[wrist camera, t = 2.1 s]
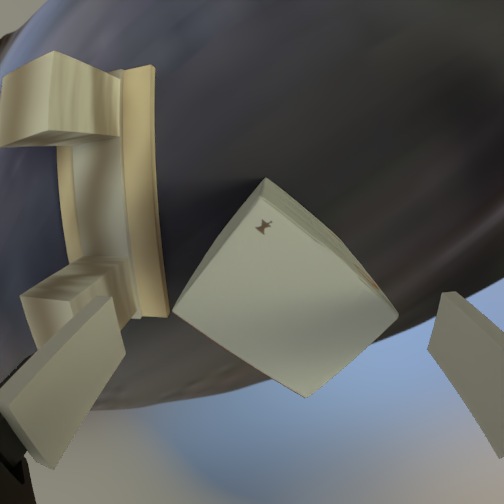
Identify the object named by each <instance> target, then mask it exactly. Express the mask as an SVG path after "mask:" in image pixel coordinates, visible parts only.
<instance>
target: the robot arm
mask: <svg viewBox="0 0 504 504" xmlns="http://www.w3.org/2000/svg"><path fill="white" fill-rule="evenodd" d="M427 350H428V351H429V352H430V354H431V355H432V357H433V358H434V359H435V361H436V362H437V364H438V365H439V366H440V368H441V369H442V371H443V372H444V373H445V375H446V376H447V378H448V379H449V381H450V382H451V383H452V385H453V386H454V388H455V389H456V391H457V392H458V394H459V395H460V397H461V398H462V400H463V401H464V403H465V404H466V406H467V407H468V409H469V410H470V412H471V413H472V415H473V417H474V418H475V420H476V421H477V423H478V424H479V426H480V428H481V429H482V431H483V432H484V434H485V436H486V437H487V439H488V441H489V442H490V444H491V446H492V447H493V449H494V451H495V453H496V454H497V456H498V458H499V459H500V458H502V457H504V332H503V331H502V330H500V329H499V328H498V327H497V326H496V325H495V324H494V323H493V322H491V321H490V320H489V319H488V318H487V317H486V316H485V315H483V314H482V313H481V312H480V311H478V310H477V309H476V308H475V307H474V306H473V305H472V304H470V303H469V302H468V301H467V300H466V299H464V298H463V297H462V296H461V295H459V294H458V293H457V292H456V291H455V292H443V293H442V294H441V299H440V303H439V307H438V312H437V316H436V320H435V324H434V328H433V331H432V335H431V339H430V342H429V345H428V349H427ZM125 355H126V352H125V348H124V344H123V341H122V337H121V333H120V329H119V325H118V321H117V316H116V312H115V308H114V303H113V298H112V297H107V296H96V297H95V298H94V299H93V300H91V301H90V302H89V303H88V304H87V305H86V306H85V307H84V308H82V309H81V310H80V311H79V312H78V313H77V314H76V315H75V316H74V317H73V318H71V319H70V320H69V321H68V322H67V323H66V324H65V325H64V326H63V327H62V328H61V329H60V330H59V331H57V332H56V333H55V334H54V335H53V336H52V337H51V338H50V339H49V340H48V341H47V342H46V343H45V344H44V345H43V346H42V347H41V348H40V349H39V350H38V351H37V352H36V353H34V354H32V355H31V356H29V357H27V358H25V359H24V360H23V361H22V362H21V363H20V364H19V365H18V366H17V369H14V370H13V371H12V372H11V373H10V376H9V375H8V376H7V377H6V379H5V380H4V381H3V382H2V383H1V384H0V504H36V501H35V497H34V493H33V488H32V483H31V478H30V473H29V467H28V463H27V460H26V458H25V457H24V454H25V453H26V451H28V452H29V453H30V455H31V456H32V457H33V459H34V460H35V461H36V462H38V463H40V464H42V465H44V466H46V467H48V468H50V469H52V470H54V469H55V467H56V465H57V464H58V462H59V460H60V458H61V457H62V455H63V453H64V452H65V450H66V448H67V447H68V445H69V443H70V442H71V440H72V438H73V436H74V435H75V433H76V432H77V430H78V428H79V427H80V425H81V423H82V422H83V420H84V419H85V417H86V415H87V414H88V412H89V411H90V409H91V407H92V406H93V404H94V403H95V401H96V399H97V398H98V396H99V395H100V393H101V392H102V390H103V388H104V387H105V385H106V384H107V382H108V381H109V379H110V378H111V376H112V375H113V373H114V372H115V370H116V368H117V367H118V365H119V364H120V362H121V361H122V359H123V358H124V356H125Z"/></svg>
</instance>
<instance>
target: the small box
mask: <svg viewBox="0 0 504 504" xmlns="http://www.w3.org/2000/svg"><path fill="white" fill-rule="evenodd" d="M172 312H173V313H174V314H175V315H177V316H178V317H180V318H181V319H182V320H184V321H185V322H187V323H188V324H189V325H191V326H192V327H194V328H195V329H196V330H198V331H199V332H201V333H202V334H204V335H205V336H207V337H208V338H209V339H211V340H212V341H214V342H215V343H217V344H218V345H220V346H221V347H223V348H224V349H226V350H227V351H229V352H230V353H232V354H234V355H235V356H237V357H238V358H240V359H241V360H243V361H244V362H246V363H247V364H249V365H251V366H252V367H254V368H255V369H257V370H259V371H260V372H262V373H263V374H265V375H267V376H268V377H270V378H272V379H273V380H275V381H277V382H278V383H280V384H282V385H283V386H285V387H287V388H289V389H290V390H292V391H294V392H295V393H297V394H299V395H301V396H302V397H304V398H308V397H309V396H310V395H312V394H313V393H314V392H315V391H317V390H318V389H319V388H320V387H322V386H323V385H324V384H325V383H326V382H328V381H329V380H330V379H331V378H333V377H334V376H335V375H336V374H337V373H338V372H340V371H341V370H342V369H343V368H344V367H346V366H347V365H348V364H349V363H350V362H351V361H352V360H354V359H355V358H356V357H357V356H358V355H359V354H360V353H361V352H362V351H363V350H364V349H366V348H367V347H368V346H369V345H370V344H371V343H372V342H373V341H374V340H376V339H377V338H378V337H379V336H380V335H381V334H382V333H383V332H384V331H385V330H386V329H387V328H388V327H389V326H390V325H391V324H392V323H393V322H395V321H396V320H397V319H398V317H399V314H398V312H397V310H396V309H395V308H394V306H393V305H392V304H391V302H390V301H389V300H388V298H387V297H386V296H385V294H384V293H383V292H382V291H381V289H380V288H379V287H378V285H377V284H376V283H375V282H374V280H373V279H372V278H371V276H370V275H369V274H368V273H367V271H366V270H365V269H364V268H363V266H362V265H361V264H360V263H359V261H358V260H357V259H356V258H355V257H354V256H353V254H352V253H351V252H350V251H349V249H348V248H347V247H346V246H345V245H344V243H343V242H342V241H341V240H340V239H339V237H337V236H336V235H335V234H334V233H333V232H332V231H331V230H330V229H329V228H327V227H326V226H325V225H324V224H323V223H322V222H321V221H319V220H318V219H317V218H316V217H315V216H314V215H312V214H311V213H310V212H309V211H308V210H306V209H305V208H304V207H303V206H302V205H300V204H299V203H298V202H297V201H296V200H294V199H293V198H292V197H291V196H289V195H288V194H287V193H286V192H285V191H283V190H282V189H281V188H280V187H278V186H277V185H276V184H274V183H273V182H272V181H270V180H269V179H268V178H264V179H263V180H262V182H261V183H260V184H259V185H258V186H257V188H256V189H255V190H254V191H253V192H252V194H251V195H250V196H249V197H248V199H247V200H246V201H245V202H244V203H243V205H242V206H241V207H240V208H239V210H238V211H237V212H236V213H235V215H234V216H233V217H232V219H231V220H230V221H229V222H228V224H227V225H226V226H225V227H224V229H223V230H222V231H221V233H220V234H219V235H218V237H217V238H216V240H215V241H214V243H213V244H212V246H211V247H210V248H209V250H208V251H207V253H206V255H205V256H204V258H203V260H202V261H201V263H200V264H199V266H198V267H197V269H196V270H195V272H194V274H193V275H192V277H191V278H190V280H189V281H188V283H187V285H186V286H185V288H184V290H183V291H182V293H181V295H180V296H179V298H178V300H177V302H176V303H175V305H174V307H173V309H172Z"/></svg>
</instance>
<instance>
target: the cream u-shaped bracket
mask: <svg viewBox="0 0 504 504" xmlns="http://www.w3.org/2000/svg"><path fill="white" fill-rule="evenodd" d="M154 99H155V67H153V66H152V65H147V66H142V67H138V68H133V69H129V70H125V71H124V70H122V69H119V70H115V71H111V72H107V73H106V72H103V71H101V70H99V69H97V68H95V67H92V66H90V65H88V64H86V63H83V62H81V61H79V60H76V59H74V58H71V57H69V56H67V55H64V54H62V53H59V52H57V51H52V52H50V53H48V54H45V55H43V56H41V57H39V58H37V59H35V60H33V61H31V62H29V63H27V64H25V65H24V66H22V67H20V68H18V69H16V70H14V71H13V72H11V73H9V74H7V75H6V76H4V77H3V82H2V90H1V100H0V148H5V147H26V146H57V170H58V185H59V197H60V206H61V215H62V223H63V230H64V237H65V243H66V249H67V255H68V260H69V265H68V266H66V267H64V268H63V269H61V270H59V271H58V272H56V273H54V274H53V275H51V276H50V277H48V278H46V279H45V280H43V281H42V282H40V283H38V284H37V285H35V286H34V287H32V288H31V289H29V290H27V291H26V292H24V293H23V294H21V295H20V299H21V302H22V306H23V309H24V312H25V315H26V318H27V321H28V324H29V327H30V330H31V333H32V336H33V339H34V341H35V344H36V346H37V349H38V350H39V349H40V348H41V347H42V346H43V345H44V344H45V343H46V342H47V341H48V340H49V339H50V338H51V337H52V336H53V335H54V334H55V333H56V332H57V331H59V330H60V329H61V328H62V327H63V326H64V325H65V324H66V323H67V322H68V321H69V320H70V319H71V318H73V317H74V316H75V315H76V314H77V313H78V312H79V311H80V310H81V309H82V308H84V307H85V306H86V305H87V304H88V303H89V302H90V301H91V300H93V299H94V298H95V297H96V296H107V297H112V298H113V303H114V308H115V312H116V316H117V321H118V325H119V329H120V331H121V330H122V328H123V327H124V326H125V325H126V323H127V322H128V321H129V320H130V319H131V318H133V319H141V317H142V316H150V317H166V318H167V317H168V315H169V314H170V307H169V300H168V293H167V286H166V278H165V270H164V262H163V253H162V243H161V233H160V222H159V210H158V197H157V181H156V160H155V120H154Z"/></svg>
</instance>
